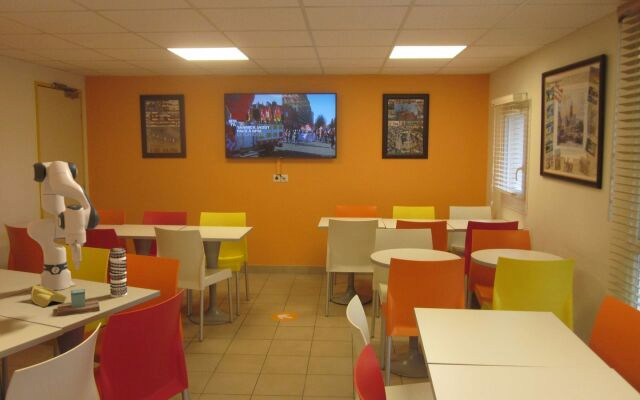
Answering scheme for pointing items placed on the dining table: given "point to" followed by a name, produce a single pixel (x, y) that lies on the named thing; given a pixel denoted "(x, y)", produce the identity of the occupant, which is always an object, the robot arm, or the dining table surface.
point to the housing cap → (78, 298)
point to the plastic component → (45, 296)
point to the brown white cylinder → (118, 272)
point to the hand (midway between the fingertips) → (76, 267)
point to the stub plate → (78, 308)
